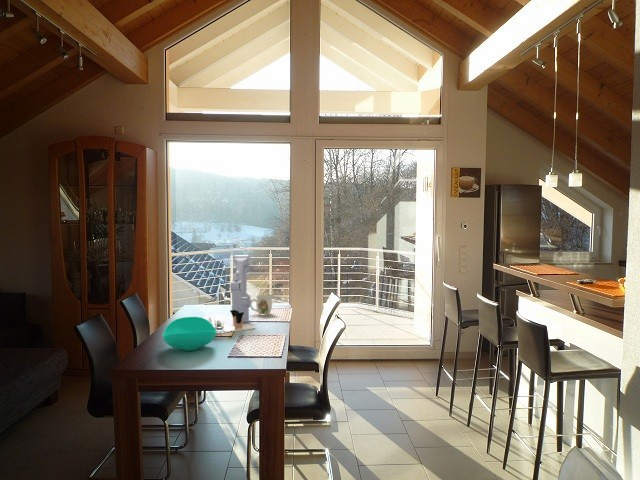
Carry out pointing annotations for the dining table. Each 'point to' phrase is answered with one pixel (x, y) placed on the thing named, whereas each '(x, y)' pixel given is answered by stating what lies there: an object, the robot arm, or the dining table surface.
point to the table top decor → (189, 333)
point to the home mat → (244, 328)
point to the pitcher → (263, 304)
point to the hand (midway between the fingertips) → (237, 322)
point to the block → (236, 323)
